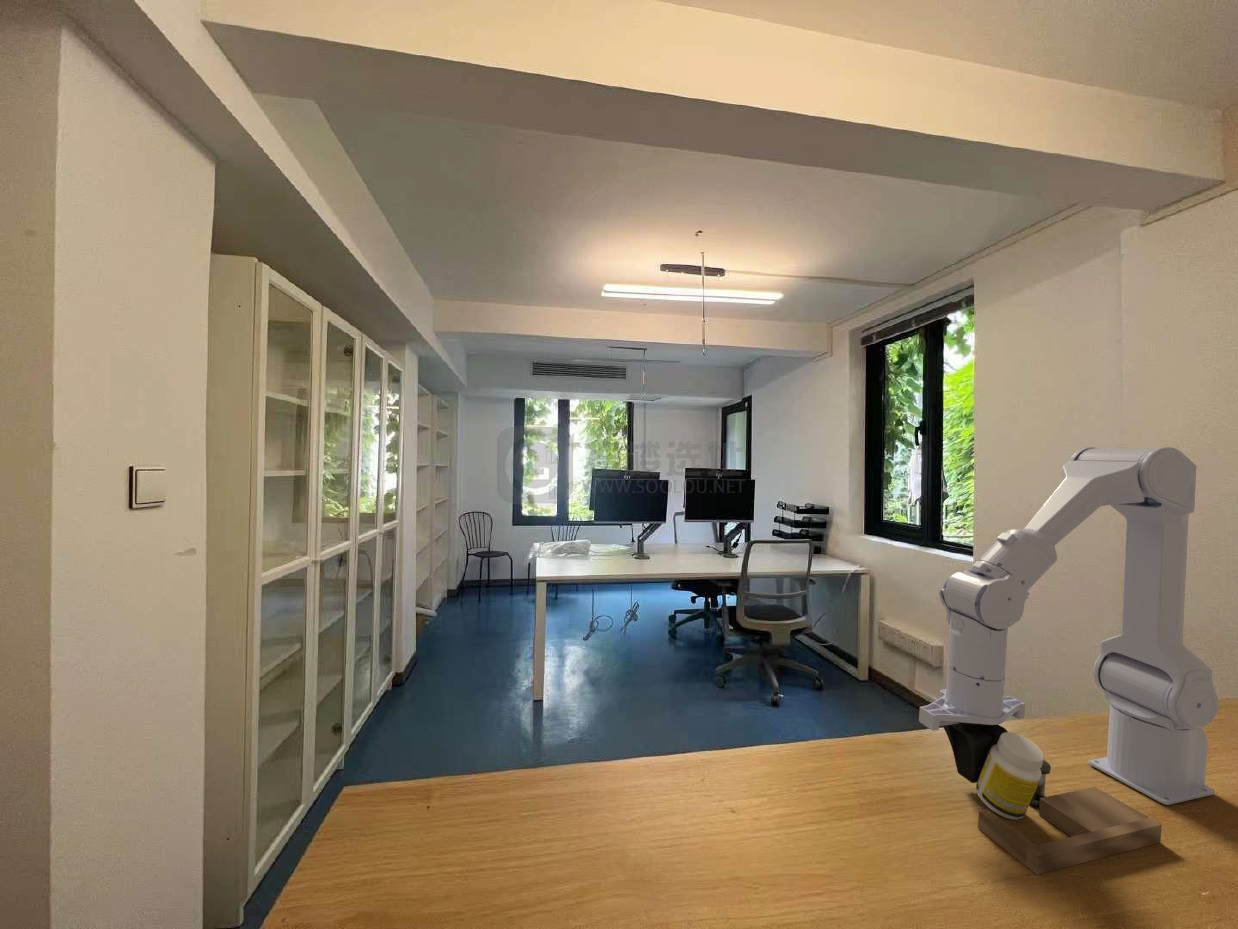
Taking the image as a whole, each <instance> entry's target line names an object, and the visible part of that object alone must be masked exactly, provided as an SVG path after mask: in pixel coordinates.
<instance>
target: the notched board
mask: <svg viewBox="0 0 1238 929" xmlns="http://www.w3.org/2000/svg"><path fill="white" fill-rule="evenodd" d="M1038 809H1039V811H1038V815H1039V816H1040V817H1041V818H1043V819H1044V820H1045V821H1047V822H1049V823H1050V824H1052V825H1053V826H1055V827H1056V828H1057V829H1059V830H1061V831H1062V832H1063V833H1065V834H1067V835H1068V836H1069V837H1068V836H1067V837H1064V838H1060V839H1057V840H1052V841H1047V842H1043V843H1040V844H1035V843H1033V841H1031V840H1029V839H1028V838H1027V837H1026V836H1024V835H1023V834H1022V833H1020V832H1019V831H1017V830H1016V829H1015V828H1013V827H1012V825H1009V823H1007V822H1005V821H1004V820H1003V819H1001V818H1000V817H999V816H997V815H995V813H993V811H990V810H989V809H987V808H986V809H981V810H978V819H977V822H978V823H977V829H978V828H979V829H980V830H979V829H978V830H979V831H981V832H982V833H983V834H985V835H986V836H987V837H988V838H990V839H991V840H992V841H993V842H995V843H996V844H998V846H1000V847H1001V848H1002V849H1003V850H1005V851H1006V852H1007V853H1009V854H1010V855H1011V856H1013V858H1014V859H1016V860H1017V861H1019V862H1020V863H1021V864H1022V865H1023V866H1025V868H1027V869H1029V870H1030V871H1031V872H1032V873H1033V874H1035V875H1036V876H1038V875H1041V874H1046V873H1049V872H1055V871H1057V870H1060V869H1066V868H1069V867H1072V866H1077V865H1080V864H1084V863H1087V862H1090V861H1095V860H1099V859H1103V858H1107V857H1110V856H1114V855H1118V854H1122V853H1125V852H1126V853H1127V852H1129V851H1133V850H1137V849H1141V848H1145V847H1148V846H1152V845H1156V844H1159V843H1161V839H1162V838H1161V837H1162V828H1163V827H1162V824H1161V823H1159V822H1158V821H1156V820H1155V819H1153V818H1151V817H1149V816H1148V815H1146V814H1144V813H1142V812H1140V811H1138V810H1137V809H1135V808H1133V807H1131V806H1129V805H1128V804H1126V803H1124V802H1122V801H1121V800H1119V799H1117V798H1115V797H1114V796H1112V795H1111V794H1108V793H1107V792H1105V791H1103V790H1102V789H1101V788H1100V789H1099V788H1098V787H1096V786H1093V787H1092V786H1091V787H1087V788H1084V789H1083V788H1082V789H1078V790H1073V791H1072V790H1071V791H1068V792H1062V793H1059V794H1054V795H1049V796H1046V797H1043V798H1040V806H1039V808H1038Z"/></svg>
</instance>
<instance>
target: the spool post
mask: <svg viewBox="0 0 1238 929" xmlns="http://www.w3.org/2000/svg"><path fill="white" fill-rule="evenodd" d="M1051 768H1052V766H1051V764H1050V763H1049V762H1048V761H1046V760H1045V759H1044V761H1043V764H1042V767H1041V768H1040V770H1041V774H1042V776H1041V779H1040V782H1039V784H1038V786H1037V789H1036V791H1035V793H1034V795H1033V798H1032V800H1031V802H1030V805H1029V806H1031V807H1035V808H1037V809H1039V806H1040V798H1043V797H1047V796H1046V795H1045V792H1046V777H1047V775H1049V774H1050V773H1051V771H1052V770H1051Z"/></svg>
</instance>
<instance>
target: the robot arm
mask: <svg viewBox="0 0 1238 929" xmlns="http://www.w3.org/2000/svg"><path fill="white" fill-rule="evenodd" d="M1061 478H1062V481H1061V483H1060V484H1059V485H1058V486H1057V488H1056V489H1055V490H1054V491H1053V493H1052V494H1051V495H1050V496H1049V498H1047V500H1046V501H1045V502H1044V503H1043V505H1042V506H1041V507H1040V508H1039V509H1038V511H1037V512H1036V513H1035V515H1033V517H1032V518H1031V520H1029V521H1028V523H1027V525H1025V526H1024V527H1023V528H1011V529H1007V530H1006V531H1005V532H1004V531H1003V532H1001V533H1000V534H999V535H998V536H997V537H996V542H994V543H993V544H992V545H991V546H990V547H989V548H988V549H987V550H986V551H985V553H983V554H982V555H981V556H980V558H978V560H976V562H974V564H973V565H971V566H970V568H969V569H968V570H961V571H957V572H955V573H953V574H951V575H950V576H949V577H947V579H946V580H945V582H944V584H943V586H942V588H941V589H939V591H938V593H939V599H940V603H941V604H942V606H943V607H944V609H945V611H946V622H948V625H949V632H948V634H949V636H948V650H947V651H948V652H947V670H946V672H947V673H946V685H945V688H944V689H940V690H939V696H940V697H939V698H938V699H936V700H934V701H933V702H931V703H929V704H927V705H923V706H919V711H918V712H919V714H918V722H919V723H920V724H922V725H923V726H924V727H926V728H928V729H929V730H931V731H933V732H934V731H935V732H936V731H939V730H940V727H943V730H944V732H945V734H946V736H947V738H948V740H949V742H950V743H949V744H950V746H951V750H952V752H953V758H954V762H955V766H956V770H957V774H959V775H960V776H961V777H963V778H964V779H966V780H967V781H969V782H970V783H972V784H975V783H976V784H977V781H978V779H979V776H980V774H981V771H982V769H983V766H984V764H985V761H986V759H987V756H988V754H989V751H990V749H991V747H992V746H993V745H995V744H997V742H998V740H999V738H1000V736H1001V734H1002V733H1005V732H1008V730H1007V729H1006V728H1005V727H1003V726H1001V724H1003V723H1005V721H1007V720H1008V719H1009V718H1010V717H1014V718H1016V719H1018V720H1020V719H1025V717H1026V716H1025V715H1026V714H1025V713H1026V711H1025V710H1026V703H1025V702H1023V701H1021V700H1019V699H1017V698H1015V697H1013V696H1012V695H1005V694H1004V693H1005V681H1006V680H1005V679H1006V663H1007V649H1008V648H1007V647H1008V646H1007V645H1008V632H1009V631H1008V629H1009V628H1010V627H1012V626H1013V625H1015V624H1016V623H1018V622H1019V621H1020V620H1021V618H1022V616H1023V614H1024V611H1025V604H1026V601H1027V599H1029V595H1030V592H1029V590H1030V589H1031V588H1032V587H1033V586H1034V585H1035V584H1036V583H1037V582H1038V581H1039V579H1040V578H1042V577H1043V576H1044V575H1045V573H1047V572H1048V570H1050V569H1051V567H1053V565H1054V564H1055V563H1056V562H1057V560H1058V555H1057V554H1058V553H1057V551H1056V545H1057V544H1059V543H1060V542H1061V541H1062V540H1063V539H1064V538H1066V537H1067V536H1068V535H1069V534H1070V533H1072V532H1073V531H1074V530H1075V529H1076V528H1077V527H1078V526H1080V525H1081V524H1082V523H1083V522H1084V521H1085V520H1086V519H1087V518H1089V517H1090V516H1092V514H1094V513H1095V512H1096V511H1097V510H1098V509H1100V508H1101V507H1104V506H1110V507H1111V508H1112V509H1114V510H1115V511H1117V512H1118V513H1119V514H1121V515H1122V516H1123V517H1124V518H1125V519H1126V525H1125V544H1124V545H1125V546H1124V547H1125V548H1124V567H1123V568H1124V571H1123V591H1122V592H1123V593H1122V594H1123V595H1122V597H1123V598H1122V614H1121V615H1122V618H1121V634H1118V635H1115V636H1112V637H1108V638H1106V639H1104V640H1102V641H1101V642H1100V649H1099V650H1100V652H1099V655H1098V657H1097V659H1096V660H1095V662H1094V665H1093V669H1092V670H1093V678H1094V682H1095V683H1096V685H1097V687H1098V688H1099V689H1100V690H1101V691H1103V692H1104V694H1103V698H1104V700H1105V701H1107V702H1109V720H1108V733H1107V748H1106V749H1107V750H1106V751H1107V752H1106V756H1104V757H1100V758H1094V759H1090V760H1088V764H1089V765H1090V766H1092V767H1094V768H1096V769H1097V770H1099V771H1101V772H1103V773H1104V774H1106V775H1109V776H1110V777H1112V778H1114V779H1116V780H1118V781H1120V782H1121V783H1123V784H1125V785H1128V786H1129V787H1131V788H1133V789H1135V790H1137V791H1138V792H1141V793H1142V794H1144V795H1145V796H1148V797H1150V798H1151V799H1153V800H1155V801H1157V802H1158V803H1160V804H1163V805H1166V806H1170V805H1174V804H1178V803H1182V802H1187V801H1191V800H1196V799H1200V798H1203V797H1208V796H1212V795H1216V790H1215V789H1214V788H1212V787H1210V786H1208V785H1206V774H1207V773H1206V772H1207V761H1208V760H1207V759H1208V749H1209V748H1208V746H1209V745H1208V744H1209V743H1208V738H1207V735H1206V734H1205V731H1204V729H1203V728H1204V727H1206V726H1208V725H1209V724H1211V722H1213V721H1214V719H1215V718H1216V716H1217V714H1218V712H1219V708H1220V706H1219V705H1220V704H1219V701H1220V700H1219V698H1218V697H1219V696H1218V695H1217V692H1216V689H1215V688H1214V684H1213V670H1212V669H1211V667H1210V666H1209V665H1208V664H1207V663H1205V662H1204V661H1203V660H1202V659H1200V658H1199V657H1198V656H1197V655H1196V654H1194V653H1193V652H1192V651H1191V650H1190V649H1189V648H1187V646H1185V645H1184V643H1183V642H1184V640H1183V639H1184V622H1185V621H1184V620H1185V599H1186V598H1185V596H1186V581H1187V580H1186V579H1187V577H1186V576H1187V559H1188V558H1187V557H1188V539H1189V538H1188V537H1189V535H1188V534H1189V515H1190V514H1192V513H1194V512H1195V504H1196V503H1195V502H1196V483H1197V482H1196V481H1197V464H1196V463H1194V462H1193V461H1192V460H1191V459H1190V458H1189V457H1187V455H1185V454H1184V453H1183V452H1182V451H1180V450H1179V449H1177V448H1175V447H1171V446H1170V447H1168V446H1161V447H1155V448H1152V447H1151V448H1146V447H1145V448H1144V447H1143V448H1142V447H1141V448H1138V447H1137V448H1135V447H1133V448H1123V447H1122V448H1121V447H1120V448H1119V447H1118V448H1117V447H1116V448H1113V447H1112V448H1111V447H1109V448H1108V447H1106V448H1099V447H1094V446H1091V447H1089V446H1088V447H1082V448H1080V449H1078V450H1077V451H1076V452H1074V454H1073V455H1072V456H1071V457H1070V458H1069V460H1068V461H1067V462H1066V463H1064V464H1063V465H1062V466H1061Z"/></svg>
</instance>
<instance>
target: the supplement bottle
mask: <svg viewBox="0 0 1238 929" xmlns="http://www.w3.org/2000/svg"><path fill="white" fill-rule="evenodd" d="M1044 760H1045V754H1044V752H1043V750H1041V748H1040V747H1039V746H1037V744H1036V743H1034V742H1033V741H1032V740H1030V739H1028V738H1027V737H1025V736H1023V735H1020V734H1018V733H1015V732H1005V733H1002V734H1001V736H1000V738H999V740H998V742H997V744H995V745H993V746H992V747H991V749H990V751H989V754H988V756H987V759H986V761H985V764H984V766H983V769H982V771H981V774H980V776H979V779H978V781H977V782H976V785H975V790H976V794H977V796H978V797H979V799H980V800H981V801H982V802H983V803H984V805H985V806H987V807H988V808H989V809H990V810H991V811H992V812H994V813H996V814H997V815H999V816H1001V817H1003V818H1007V819H1009V820H1020V819H1022V818H1024V817H1025V815H1026V813H1027V810H1028V808H1029V807H1030V805H1029V804H1030V802H1031V800H1032V798H1033V795H1034V793H1035V791H1036V789H1037V786H1038V784H1039V782H1040V779H1041V776H1042V774H1041V770H1040V768H1041V767H1042V764H1043V761H1044Z"/></svg>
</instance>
